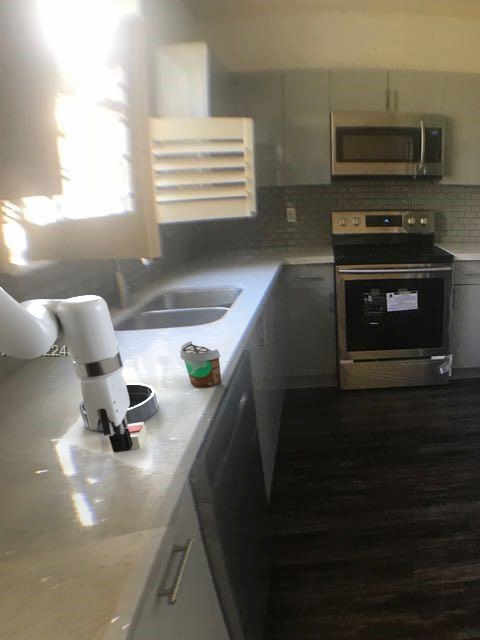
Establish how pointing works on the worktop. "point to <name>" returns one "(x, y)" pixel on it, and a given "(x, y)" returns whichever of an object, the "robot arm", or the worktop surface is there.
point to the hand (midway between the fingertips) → (123, 448)
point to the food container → (201, 365)
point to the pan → (133, 405)
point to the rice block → (137, 434)
